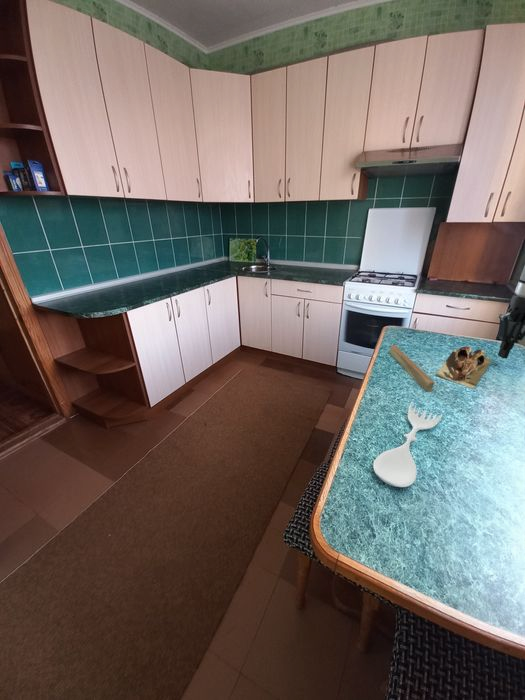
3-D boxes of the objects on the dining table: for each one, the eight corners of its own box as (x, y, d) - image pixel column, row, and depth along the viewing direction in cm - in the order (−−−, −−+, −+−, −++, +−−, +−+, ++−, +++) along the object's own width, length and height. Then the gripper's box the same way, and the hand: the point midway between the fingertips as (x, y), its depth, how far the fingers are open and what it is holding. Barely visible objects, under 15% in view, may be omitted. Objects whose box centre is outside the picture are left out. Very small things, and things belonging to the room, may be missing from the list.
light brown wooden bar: (393, 352, 122) (395, 344, 120) (431, 391, 97) (434, 382, 95) (389, 352, 122) (390, 345, 120) (426, 391, 97) (428, 382, 95)
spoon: (441, 422, 83) (444, 413, 82) (406, 500, 62) (409, 490, 60) (408, 409, 89) (410, 400, 87) (365, 478, 67) (367, 467, 66)
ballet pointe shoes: (498, 345, 112) (486, 374, 94) (492, 360, 115) (478, 391, 97) (458, 335, 120) (439, 360, 102) (453, 349, 123) (434, 375, 105)
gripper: (536, 292, 102) (510, 351, 112) (500, 293, 101) (478, 352, 112) (556, 298, 95) (527, 361, 106) (518, 299, 94) (492, 362, 105)
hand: (502, 356), depth 109 cm, fingers closed
